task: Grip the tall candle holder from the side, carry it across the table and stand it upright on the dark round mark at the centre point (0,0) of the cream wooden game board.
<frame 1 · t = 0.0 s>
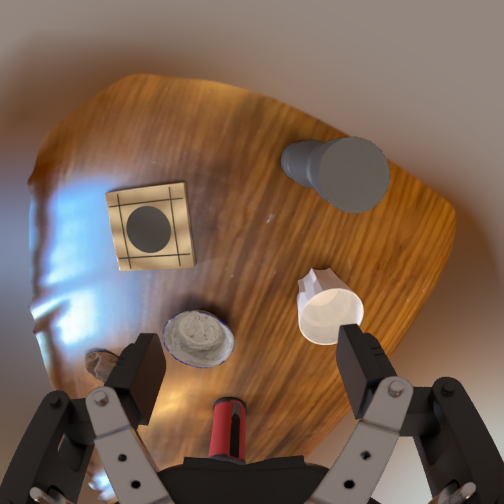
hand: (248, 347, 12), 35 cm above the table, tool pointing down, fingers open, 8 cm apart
speaker: (230, 405, 61), on the table
candle holder: (300, 161, 43), on the table
cup: (318, 287, 50), on the table
bowl: (201, 326, 53), on the table
board: (151, 227, 46), on the table
rock: (108, 366, 58), on the table
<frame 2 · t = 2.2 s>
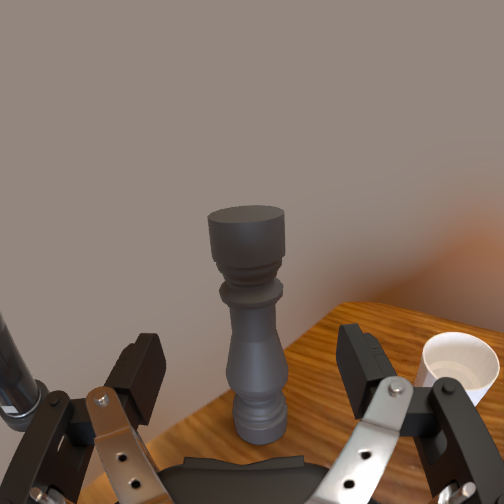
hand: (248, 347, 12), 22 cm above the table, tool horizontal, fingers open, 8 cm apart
candle holder: (261, 425, 30), on the table
cup: (433, 416, 26), on the table
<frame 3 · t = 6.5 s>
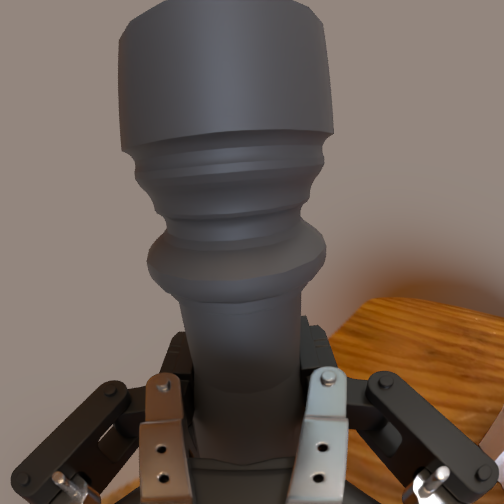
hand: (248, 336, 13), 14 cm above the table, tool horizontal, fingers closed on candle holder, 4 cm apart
candle holder: (261, 496, 15), on the table, touching gripper
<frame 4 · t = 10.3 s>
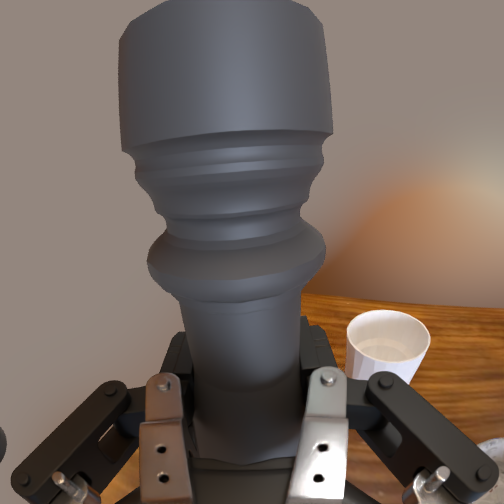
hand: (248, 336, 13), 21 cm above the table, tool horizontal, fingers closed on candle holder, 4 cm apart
candle holder: (261, 496, 15), point 8 cm above the table, touching gripper
cup: (373, 392, 32), on the table
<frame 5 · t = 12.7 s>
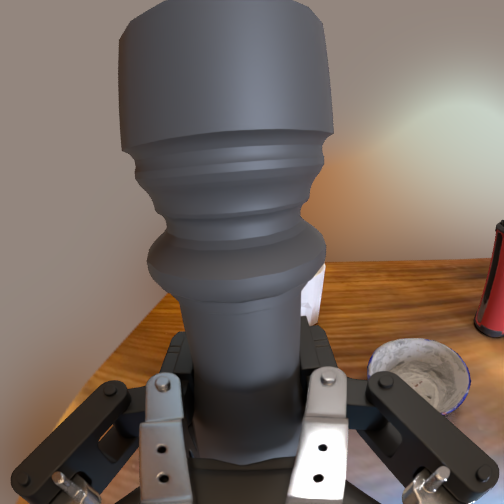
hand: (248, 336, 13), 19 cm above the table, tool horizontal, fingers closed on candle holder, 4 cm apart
speaker: (490, 327, 35), on the table
candle holder: (261, 496, 15), point 5 cm above the table, touching gripper
cup: (290, 322, 45), on the table
bowl: (410, 399, 27), on the table
when the fingers open (15 cm above the table, at t = 14.1 s): candle holder stays where it is, resting on board.
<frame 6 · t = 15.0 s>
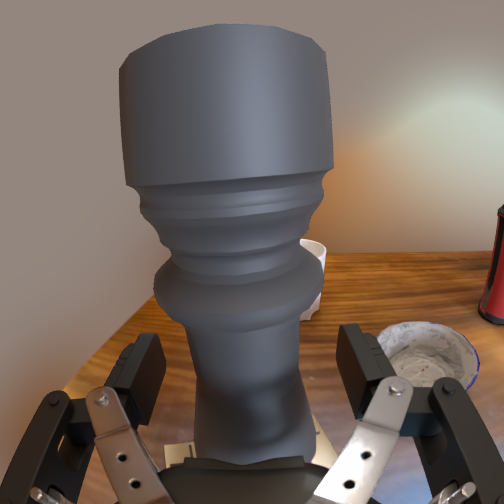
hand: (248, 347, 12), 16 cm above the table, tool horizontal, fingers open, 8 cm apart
speaker: (495, 314, 34), on the table
candle holder: (262, 498, 15), point 1 cm above the table, touching board
cup: (291, 310, 44), on the table
bowl: (416, 385, 26), on the table
board: (262, 502, 16), on the table
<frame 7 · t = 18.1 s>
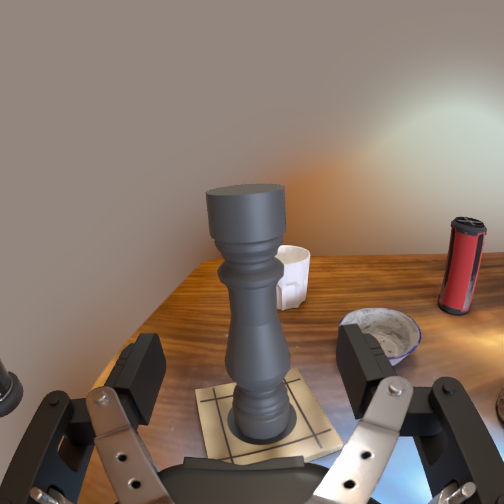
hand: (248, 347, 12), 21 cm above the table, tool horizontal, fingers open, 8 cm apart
speaker: (453, 306, 48), on the table
candle holder: (262, 419, 29), point 1 cm above the table, touching board
cup: (284, 300, 58), on the table
bowl: (375, 354, 40), on the table
board: (262, 424, 30), on the table
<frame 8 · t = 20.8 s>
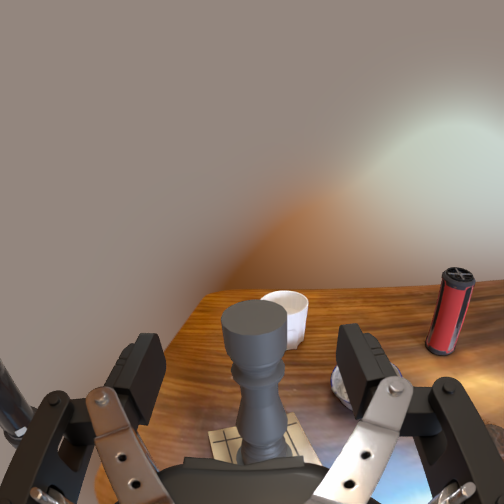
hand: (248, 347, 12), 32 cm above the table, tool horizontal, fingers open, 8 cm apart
speaker: (439, 346, 52), on the table
candle holder: (264, 457, 33), point 1 cm above the table, touching board
cup: (284, 340, 62), on the table
bowl: (362, 397, 43), on the table
board: (264, 461, 33), on the table
rock: (489, 452, 23), on the table
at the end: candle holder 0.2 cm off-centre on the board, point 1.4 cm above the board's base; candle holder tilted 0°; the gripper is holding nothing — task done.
